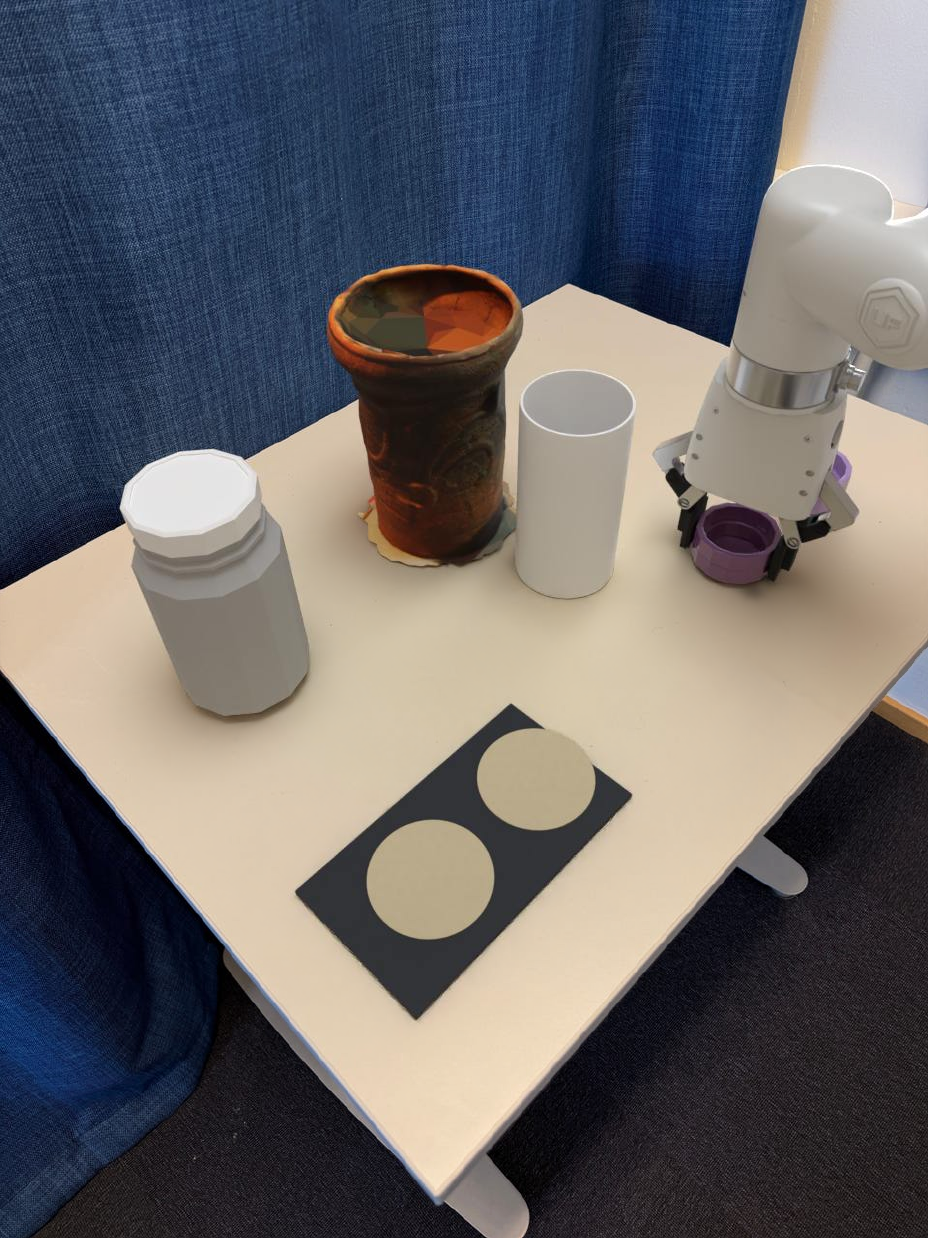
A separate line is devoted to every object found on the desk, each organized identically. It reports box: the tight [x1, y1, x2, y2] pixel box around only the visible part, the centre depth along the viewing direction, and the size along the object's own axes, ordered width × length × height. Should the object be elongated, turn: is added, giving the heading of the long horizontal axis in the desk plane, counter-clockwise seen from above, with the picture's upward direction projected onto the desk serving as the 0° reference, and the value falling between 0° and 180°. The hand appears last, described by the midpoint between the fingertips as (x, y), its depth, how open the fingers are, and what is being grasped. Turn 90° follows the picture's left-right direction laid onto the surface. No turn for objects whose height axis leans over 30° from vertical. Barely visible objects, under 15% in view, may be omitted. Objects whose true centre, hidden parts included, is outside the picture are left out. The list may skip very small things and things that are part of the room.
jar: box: [119, 448, 310, 717], centre depth 62 cm, size 10×10×18 cm
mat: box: [294, 702, 633, 1021], centre depth 59 cm, size 20×11×1 cm, turn 136°
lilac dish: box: [810, 449, 853, 516], centre depth 80 cm, size 7×7×3 cm
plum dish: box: [690, 501, 783, 585], centre depth 74 cm, size 7×7×3 cm
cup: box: [514, 368, 637, 600], centre depth 70 cm, size 8×8×16 cm
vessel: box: [326, 263, 524, 567], centre depth 73 cm, size 14×14×20 cm
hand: (732, 553), depth 75 cm, fingers closed on plum dish, 6 cm apart
